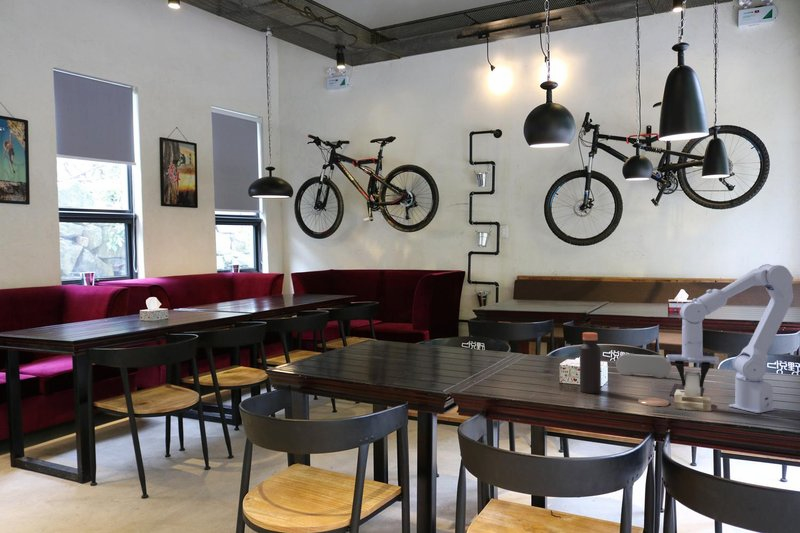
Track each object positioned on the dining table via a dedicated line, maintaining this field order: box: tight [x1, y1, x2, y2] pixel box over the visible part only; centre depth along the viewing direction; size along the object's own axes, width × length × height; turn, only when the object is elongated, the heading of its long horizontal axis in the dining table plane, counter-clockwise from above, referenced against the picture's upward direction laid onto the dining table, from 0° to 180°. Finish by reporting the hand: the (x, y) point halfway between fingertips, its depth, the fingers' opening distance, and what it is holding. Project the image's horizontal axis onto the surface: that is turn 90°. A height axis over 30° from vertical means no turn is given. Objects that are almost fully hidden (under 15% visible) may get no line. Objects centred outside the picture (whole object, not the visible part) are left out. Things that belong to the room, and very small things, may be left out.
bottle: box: [579, 331, 602, 394], centre depth 211 cm, size 7×7×20 cm
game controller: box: [615, 352, 672, 379], centre depth 235 cm, size 20×2×8 cm, turn 63°
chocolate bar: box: [669, 383, 704, 398], centre depth 209 cm, size 9×1×18 cm
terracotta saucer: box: [637, 396, 670, 407], centre depth 195 cm, size 9×9×1 cm
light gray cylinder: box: [684, 370, 701, 397], centre depth 190 cm, size 4×4×7 cm
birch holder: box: [673, 395, 712, 412], centre depth 191 cm, size 10×10×2 cm
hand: (692, 386), depth 190 cm, fingers closed on light gray cylinder, 4 cm apart
